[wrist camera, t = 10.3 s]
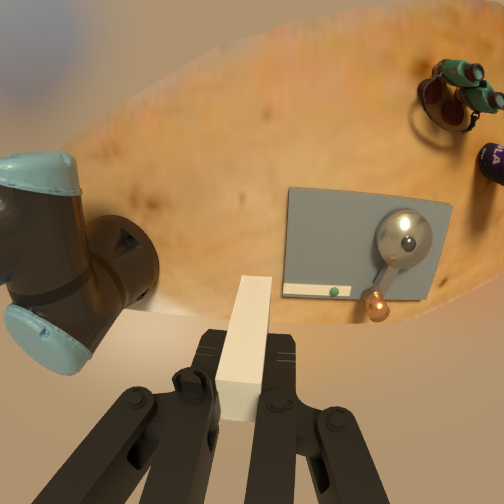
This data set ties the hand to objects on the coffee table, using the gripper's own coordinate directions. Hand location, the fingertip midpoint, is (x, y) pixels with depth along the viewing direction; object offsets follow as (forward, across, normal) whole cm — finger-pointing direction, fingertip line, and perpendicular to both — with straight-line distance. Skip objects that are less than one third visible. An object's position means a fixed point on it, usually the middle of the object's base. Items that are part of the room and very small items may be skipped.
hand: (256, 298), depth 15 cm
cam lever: (+23, -17, +9) cm, 30 cm away
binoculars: (+25, -23, -15) cm, 37 cm away
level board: (+24, -14, +8) cm, 29 cm away
